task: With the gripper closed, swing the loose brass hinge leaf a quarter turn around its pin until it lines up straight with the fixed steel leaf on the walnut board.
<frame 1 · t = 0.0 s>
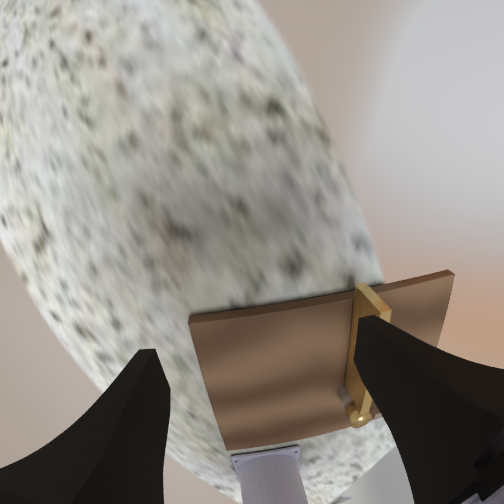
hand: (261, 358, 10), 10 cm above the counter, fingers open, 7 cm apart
hinge base: (342, 382, 24), on the counter
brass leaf: (362, 364, 20), point 3 cm above the counter, hinge at 0.0°
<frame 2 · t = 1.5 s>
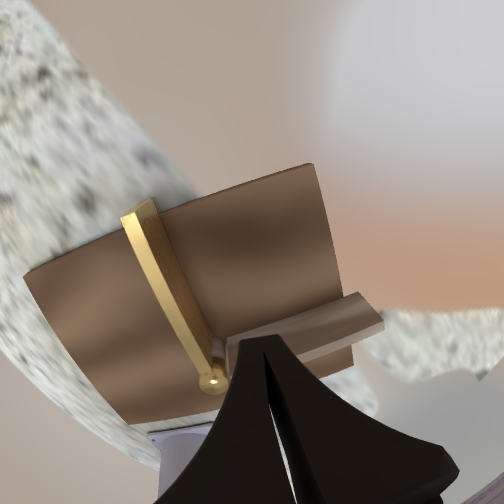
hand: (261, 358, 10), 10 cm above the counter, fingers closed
hinge base: (213, 338, 21), on the counter
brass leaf: (180, 303, 17), point 3 cm above the counter, hinge at 0.0°
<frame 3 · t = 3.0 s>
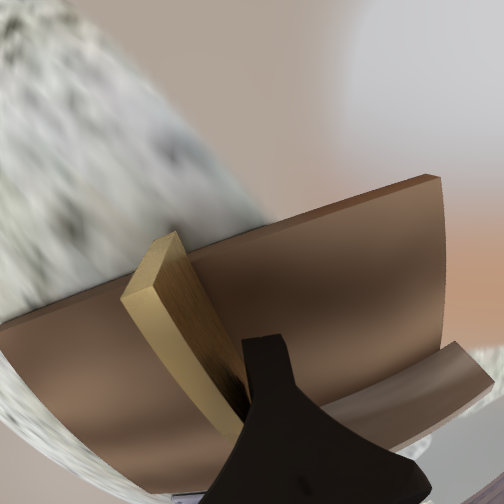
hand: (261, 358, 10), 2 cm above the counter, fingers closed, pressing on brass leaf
hinge base: (270, 412, 14), on the counter
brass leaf: (240, 402, 9), point 3 cm above the counter, hinge at 2.7°, touching gripper
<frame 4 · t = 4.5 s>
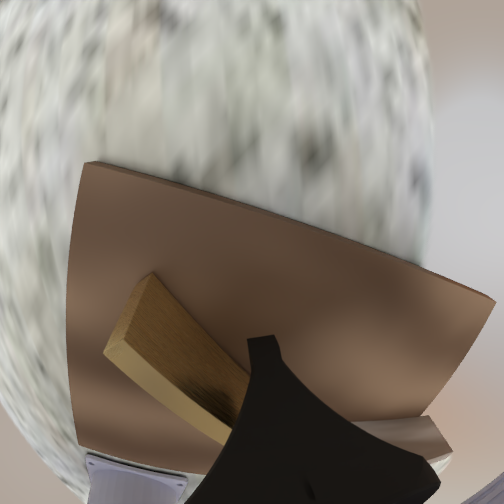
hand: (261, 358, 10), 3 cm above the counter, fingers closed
hinge base: (293, 412, 15), on the counter
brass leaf: (248, 414, 10), point 3 cm above the counter, hinge at 53.0°, touching gripper
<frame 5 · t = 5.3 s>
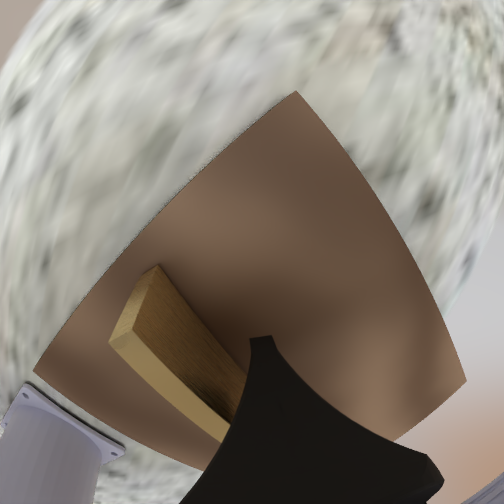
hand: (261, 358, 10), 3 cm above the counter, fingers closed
hinge base: (284, 414, 15), on the counter
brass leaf: (244, 413, 10), point 3 cm above the counter, hinge at 77.7°, touching gripper
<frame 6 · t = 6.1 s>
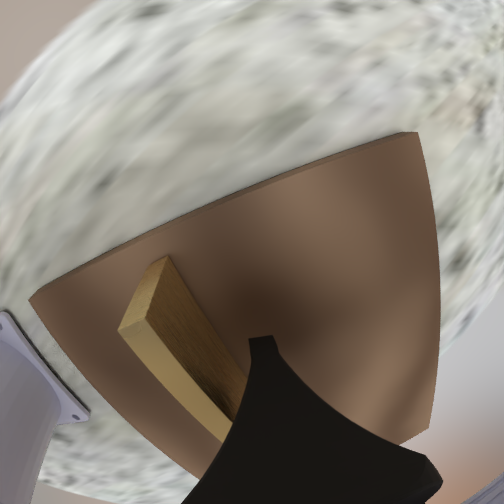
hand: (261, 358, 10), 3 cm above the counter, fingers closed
hinge base: (275, 416, 15), on the counter
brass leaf: (241, 411, 10), point 3 cm above the counter, hinge at 92.8°, touching gripper
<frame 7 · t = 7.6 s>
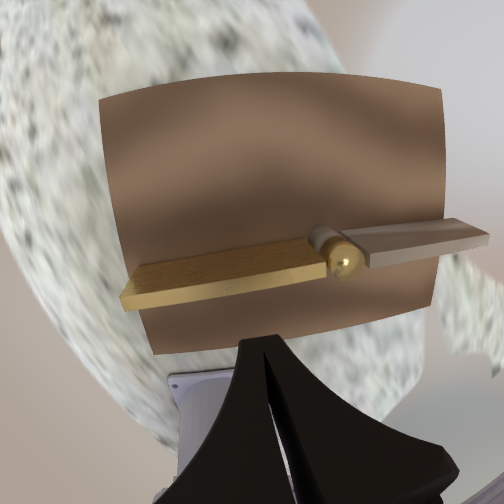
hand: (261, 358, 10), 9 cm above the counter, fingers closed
hinge base: (316, 234, 18), on the counter
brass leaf: (240, 268, 15), point 3 cm above the counter, hinge at 92.7°
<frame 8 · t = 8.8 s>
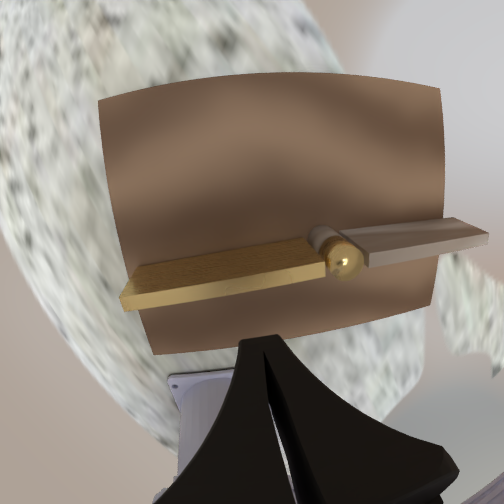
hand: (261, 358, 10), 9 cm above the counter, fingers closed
hinge base: (316, 234, 18), on the counter
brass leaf: (240, 268, 15), point 3 cm above the counter, hinge at 92.7°
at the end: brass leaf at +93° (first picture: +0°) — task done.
